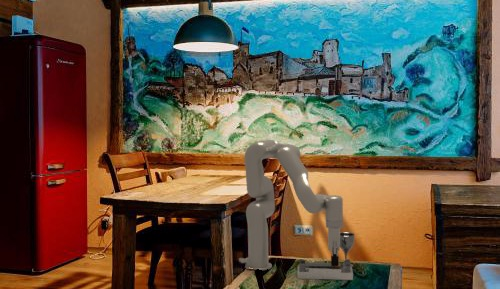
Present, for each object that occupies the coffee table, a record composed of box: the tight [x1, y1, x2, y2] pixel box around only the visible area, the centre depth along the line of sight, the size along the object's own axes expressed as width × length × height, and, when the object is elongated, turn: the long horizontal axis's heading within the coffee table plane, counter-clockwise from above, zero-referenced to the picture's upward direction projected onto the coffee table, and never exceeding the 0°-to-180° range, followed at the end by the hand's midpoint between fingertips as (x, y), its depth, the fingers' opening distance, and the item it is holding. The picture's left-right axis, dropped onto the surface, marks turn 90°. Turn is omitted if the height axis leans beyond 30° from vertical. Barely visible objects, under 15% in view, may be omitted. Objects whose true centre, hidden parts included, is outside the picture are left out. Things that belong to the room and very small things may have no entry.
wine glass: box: [340, 231, 355, 268], centre depth 260 cm, size 8×8×15 cm
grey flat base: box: [297, 258, 354, 281], centre depth 244 cm, size 24×10×7 cm, turn 83°
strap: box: [302, 262, 344, 269], centre depth 244 cm, size 18×5×1 cm, turn 83°
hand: (334, 264), depth 243 cm, fingers closed
